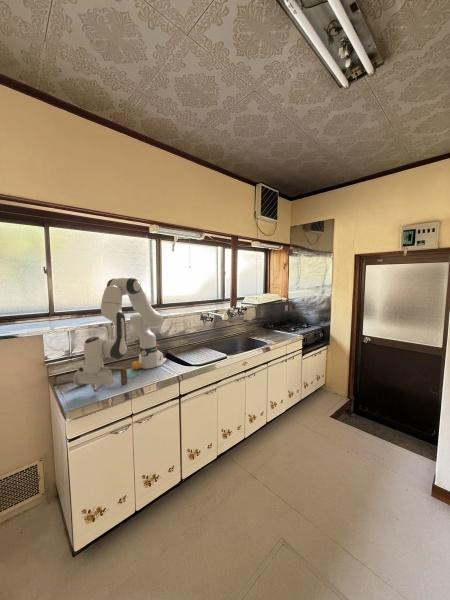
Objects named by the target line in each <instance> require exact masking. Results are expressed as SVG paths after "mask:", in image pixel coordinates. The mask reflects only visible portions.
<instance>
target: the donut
mask: <svg viewBox="0 0 450 600" xmlns="http://www.w3.org/2000/svg"><path fill="white" fill-rule="evenodd" d="M78 372H79V371H78V370H77V371H76V372H75V373H74V374H73V377H72V381H73V384H74V385H76V386H78V387H81V386H85V385H86V384H81V383H79V382H78Z"/></svg>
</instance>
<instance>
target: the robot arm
mask: <svg viewBox="0 0 450 600" xmlns="http://www.w3.org/2000/svg"><path fill="white" fill-rule="evenodd" d="M104 288H105V289H104V291H103V293H102V296H101V297H102V298H101V303H100V305H101V306H100V312H101V315H102V316H103V317H104V318H106V320H109V321H111V322H112V323H113V324H114V340H113V339H112V340H111V339H104V338H101V337H99V336H92V337H88V338H87V339H85V341H84V343H83V355H84V358H85V360H84V361H85V362H84V364H83V365H80V366H78V367H77V371H79V372H78V382H79V383H81V384H85V385H90V387H91V388H92V391H93V393H99V392H101V386H107V387H108V386H110V385H112V384H113V383H114V377H113V373H112V372H113V371H112V370H110V369H109V368H104V367H105V366H104V358H112V359H116V360H120V359H122V358H123V357H124V356H125V355H126V354H127V353H128V343H127V329H126V328H127V327H126V324H127V323H126V316H125V314H124V313H123V309H122V306H123V305H122V304H123V296H128V298H129V301H130V304H131V307H132V309H133V310H134V311H135V313H133V314H131V316H130V318H129V324H130V325H131V327H133V328H134V330H135V331H136V333H137V335H138V337H139V355H138V362H140V364H141V366H140V368H139V369H153V368H158V367H161V366H162V365H163V364H165V362H166V361H167V358H166V357H164V354H163V352H162V351H160V350H159V349H158V348H160V345H159V344H157V340H156V339H157V338H156V337H157V336H156V334H155V333H154V332H152V331H151V329H157V328H160V327H161V328H162V325H163V324H164V317H163V315H162V314H161V313H159V312H157V311H156V310H155V309H154V308H153V307H152V305H151V304H150V301H149V299H148V297H147V294H146V291H145V289H144V288H143V286H142V284H141V282H140V280H139V279H138V278H136V277H119V278H112V279H109V280H108V282H107V284H106V287H104Z"/></svg>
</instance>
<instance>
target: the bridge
mask: <svg viewBox="0 0 450 600" xmlns="http://www.w3.org/2000/svg"><path fill="white" fill-rule="evenodd" d="M104 368H109V369H110V370H111V371H112V372H113V371H114V372H120V374H121V377H120V384H121V385H122V386H125V385H127V384H128V378H127V370H128V369H127V367H124V366H107V365H105V366H104Z"/></svg>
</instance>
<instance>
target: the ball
mask: <svg viewBox="0 0 450 600" xmlns="http://www.w3.org/2000/svg"><path fill="white" fill-rule="evenodd" d="M140 366H141V364H140V362H139V360H134V361H132V363H131V370H140V369H141V368H140Z"/></svg>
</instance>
